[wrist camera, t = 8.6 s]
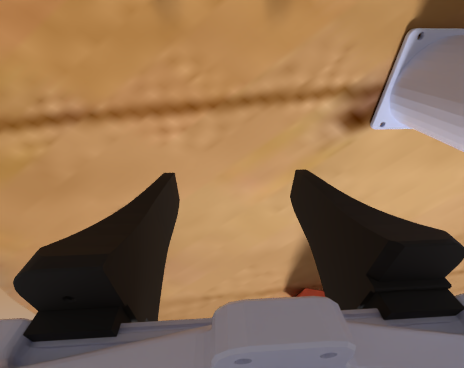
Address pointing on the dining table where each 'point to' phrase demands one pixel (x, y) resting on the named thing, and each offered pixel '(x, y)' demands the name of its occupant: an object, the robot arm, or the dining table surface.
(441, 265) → the robot arm
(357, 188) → the dining table surface
